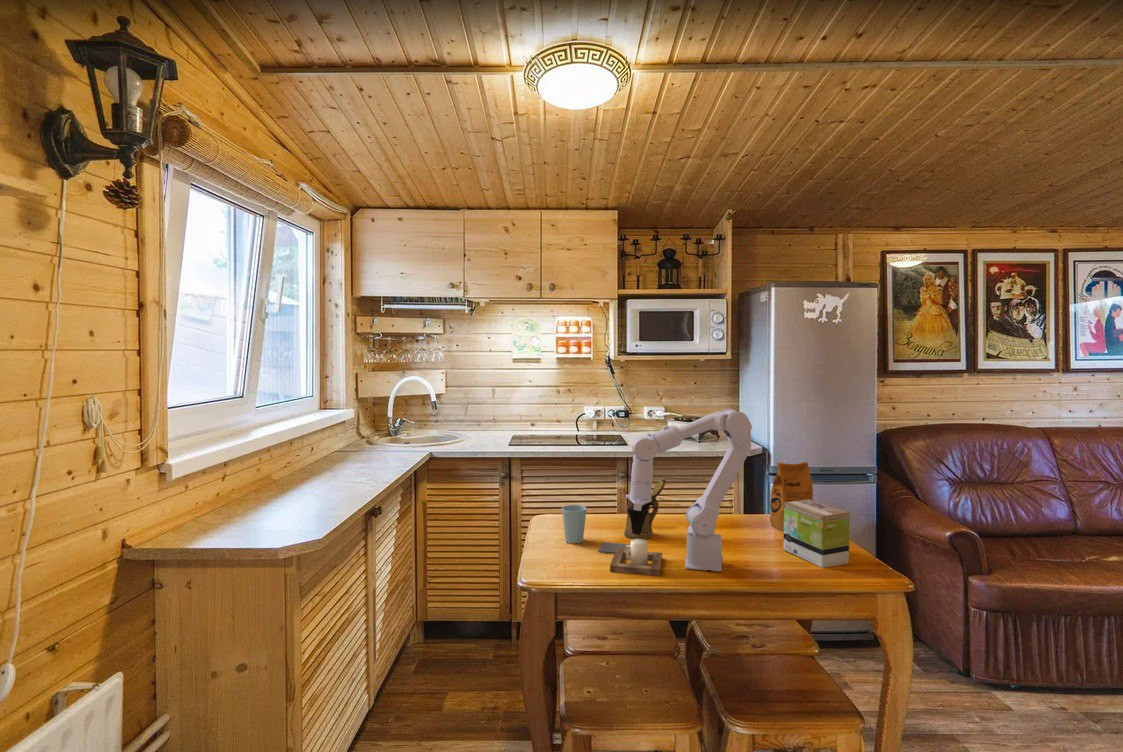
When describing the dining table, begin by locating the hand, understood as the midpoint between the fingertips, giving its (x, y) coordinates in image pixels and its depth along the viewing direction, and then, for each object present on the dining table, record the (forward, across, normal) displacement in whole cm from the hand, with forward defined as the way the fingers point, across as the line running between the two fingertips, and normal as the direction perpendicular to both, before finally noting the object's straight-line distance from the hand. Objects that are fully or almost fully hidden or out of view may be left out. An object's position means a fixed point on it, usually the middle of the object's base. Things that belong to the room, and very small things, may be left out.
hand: (637, 530), depth 152 cm
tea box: (+6, -18, +49) cm, 53 cm away
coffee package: (+6, -46, +47) cm, 66 cm away
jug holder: (+10, 0, 0) cm, 10 cm away
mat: (+10, -11, -8) cm, 17 cm away
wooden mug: (+10, -26, 0) cm, 28 cm away
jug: (+10, 0, +1) cm, 10 cm away
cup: (+11, -16, -21) cm, 28 cm away
